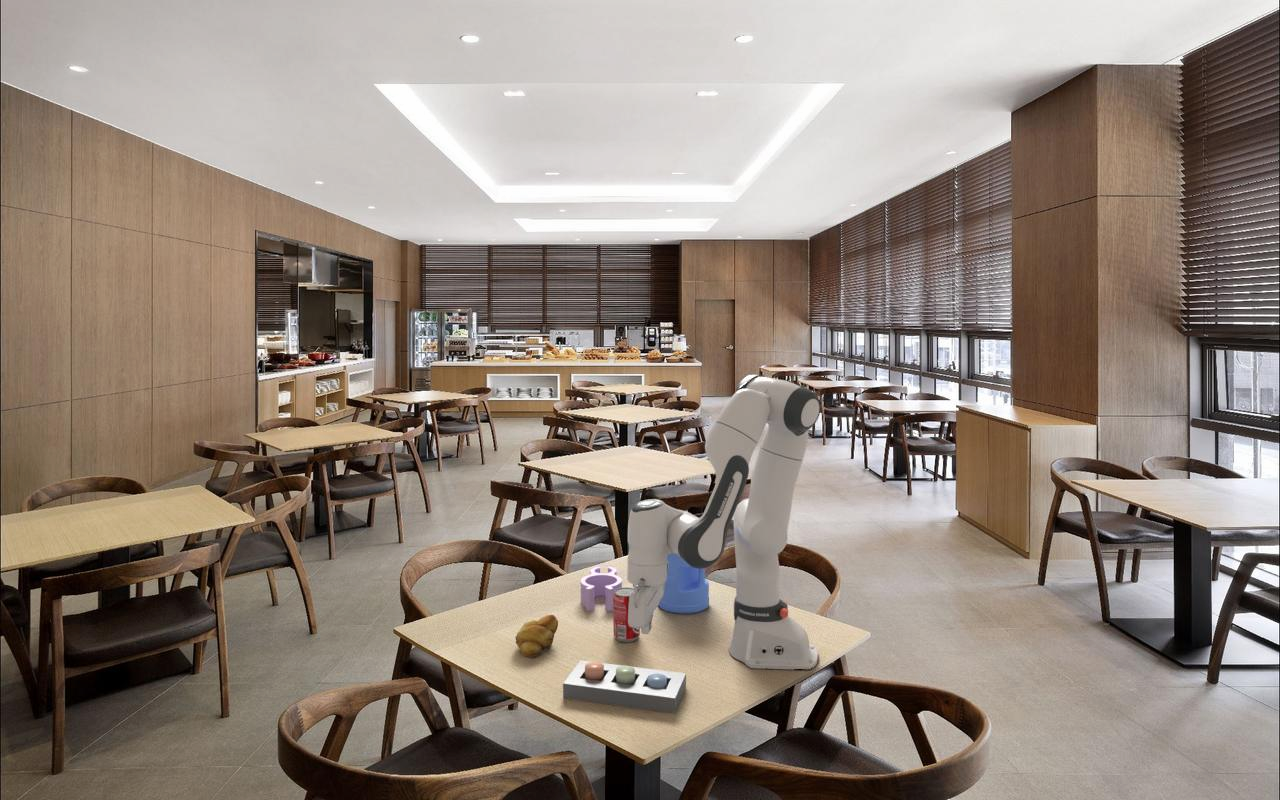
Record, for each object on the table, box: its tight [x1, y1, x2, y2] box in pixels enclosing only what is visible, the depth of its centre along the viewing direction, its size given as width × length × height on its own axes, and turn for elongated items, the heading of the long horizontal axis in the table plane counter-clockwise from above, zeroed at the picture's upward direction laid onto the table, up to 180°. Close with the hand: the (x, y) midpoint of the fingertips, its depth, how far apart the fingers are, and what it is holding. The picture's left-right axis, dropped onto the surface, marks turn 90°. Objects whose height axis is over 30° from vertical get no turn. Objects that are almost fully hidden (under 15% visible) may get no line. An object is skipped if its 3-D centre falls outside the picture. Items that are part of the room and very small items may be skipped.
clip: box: [580, 566, 623, 612], centre depth 232 cm, size 20×12×7 cm, turn 179°
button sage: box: [616, 665, 635, 685], centre depth 174 cm, size 4×4×3 cm
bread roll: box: [515, 614, 559, 658], centre depth 197 cm, size 13×10×8 cm
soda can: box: [612, 586, 641, 643], centre depth 204 cm, size 7×7×13 cm
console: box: [562, 659, 687, 714], centre depth 174 cm, size 26×12×4 cm, turn 75°
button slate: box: [647, 674, 667, 689], centre depth 172 cm, size 4×4×3 cm
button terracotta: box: [585, 661, 604, 681], centre depth 176 cm, size 4×4×3 cm
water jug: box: [658, 553, 710, 615], centre depth 226 cm, size 16×16×28 cm
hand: (646, 631), depth 171 cm, fingers closed
